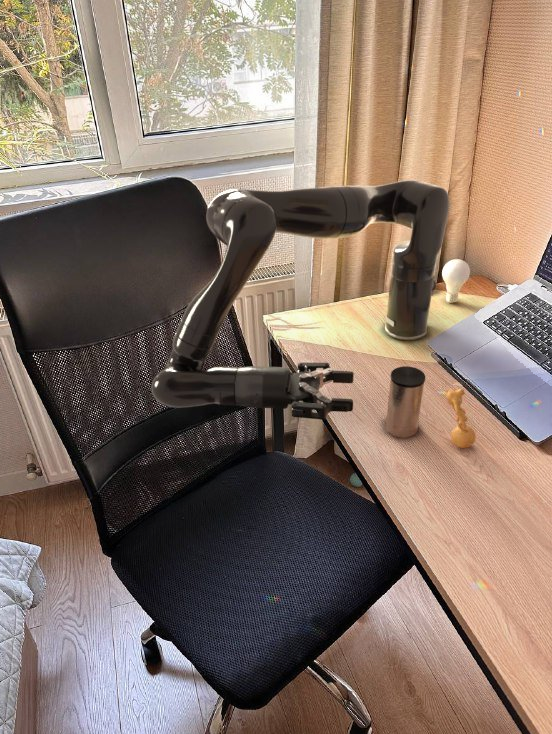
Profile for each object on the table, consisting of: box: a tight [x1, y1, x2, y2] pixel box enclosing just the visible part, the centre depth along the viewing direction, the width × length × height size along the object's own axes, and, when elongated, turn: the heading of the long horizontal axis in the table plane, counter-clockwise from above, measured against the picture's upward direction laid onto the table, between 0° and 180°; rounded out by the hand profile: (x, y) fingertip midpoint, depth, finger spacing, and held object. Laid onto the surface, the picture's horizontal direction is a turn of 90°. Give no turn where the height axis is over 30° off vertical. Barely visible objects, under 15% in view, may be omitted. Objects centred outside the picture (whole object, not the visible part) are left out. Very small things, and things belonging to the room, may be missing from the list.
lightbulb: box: [441, 258, 471, 304], centre depth 142 cm, size 6×6×11 cm
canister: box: [385, 365, 426, 439], centre depth 103 cm, size 6×6×12 cm
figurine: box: [445, 388, 477, 449], centre depth 99 cm, size 8×6×12 cm
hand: (353, 390), depth 104 cm, fingers open, 8 cm apart
